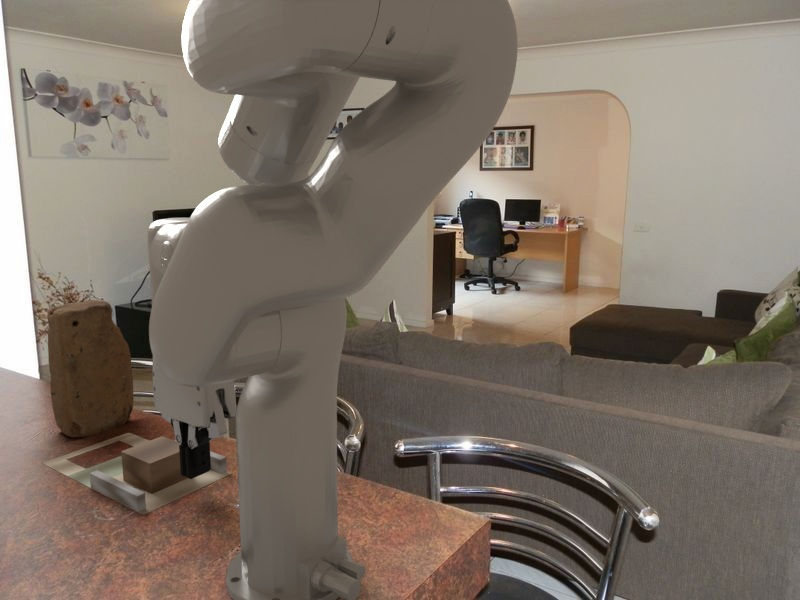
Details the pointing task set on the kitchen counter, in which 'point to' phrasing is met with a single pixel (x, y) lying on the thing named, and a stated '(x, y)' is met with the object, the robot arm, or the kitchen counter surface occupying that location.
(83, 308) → the block
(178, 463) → the walnut block
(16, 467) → the kitchen counter surface
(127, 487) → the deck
